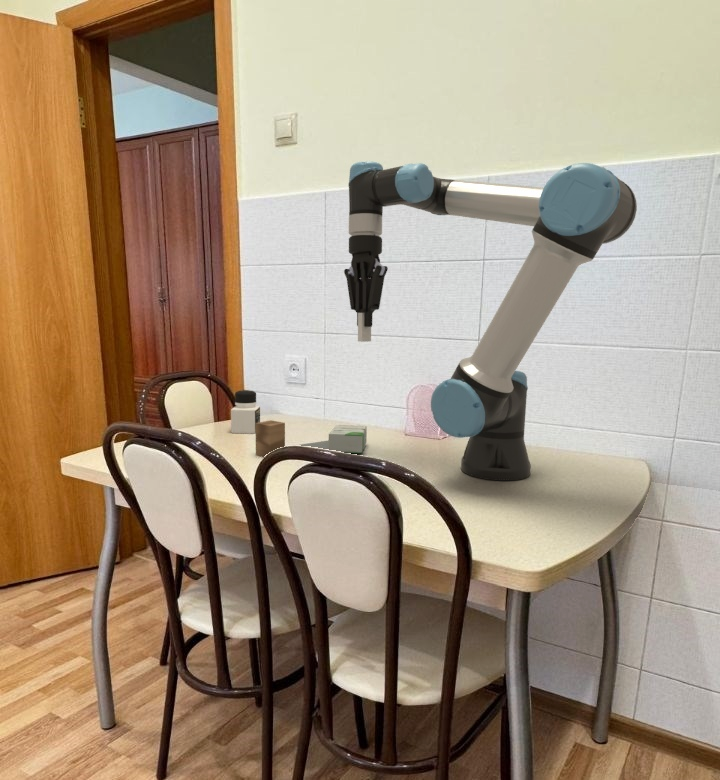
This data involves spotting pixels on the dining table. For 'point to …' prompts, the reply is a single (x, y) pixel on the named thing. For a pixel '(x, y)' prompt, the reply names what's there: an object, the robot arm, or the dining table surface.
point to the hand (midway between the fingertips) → (364, 341)
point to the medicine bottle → (245, 412)
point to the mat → (318, 444)
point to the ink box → (348, 438)
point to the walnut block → (269, 436)
